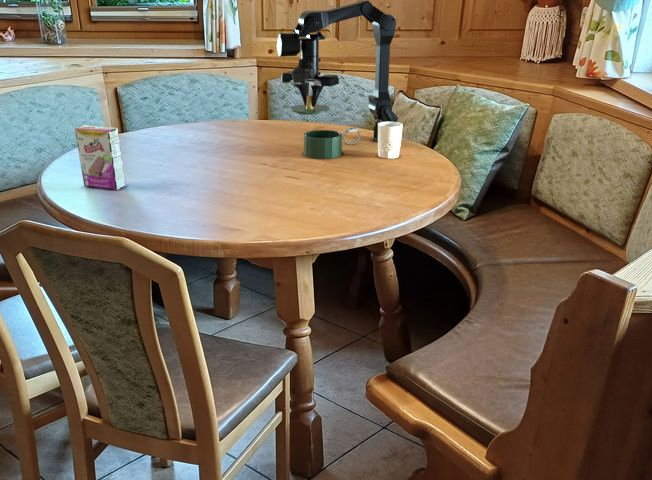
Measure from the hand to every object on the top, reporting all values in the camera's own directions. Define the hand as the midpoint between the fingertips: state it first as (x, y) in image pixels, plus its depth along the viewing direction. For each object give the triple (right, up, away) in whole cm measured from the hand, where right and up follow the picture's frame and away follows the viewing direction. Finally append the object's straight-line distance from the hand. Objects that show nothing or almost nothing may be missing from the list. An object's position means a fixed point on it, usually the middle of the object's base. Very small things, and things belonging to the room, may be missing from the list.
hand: (309, 106), depth 240 cm
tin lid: (0, -1, 0) cm, 1 cm away
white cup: (+26, -18, -5) cm, 32 cm away
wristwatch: (+14, -9, +10) cm, 20 cm away
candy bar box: (-59, -36, -32) cm, 76 cm away
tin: (+4, -17, -2) cm, 17 cm away
